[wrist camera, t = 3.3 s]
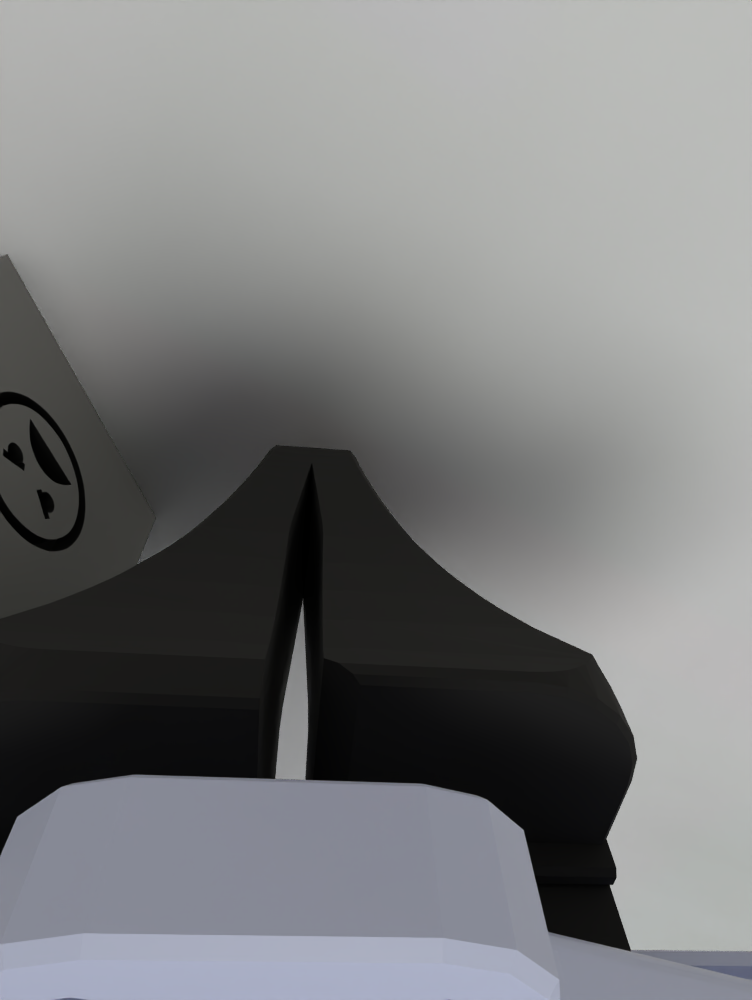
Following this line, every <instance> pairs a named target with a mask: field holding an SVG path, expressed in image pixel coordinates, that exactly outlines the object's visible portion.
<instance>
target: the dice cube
mask: <svg viewBox="0 0 752 1000" xmlns="http://www.w3.org/2000/svg"><path fill="white" fill-rule="evenodd" d="M155 519H156V517H155V516H154V514H153V512H152V510H151V508H150V507H149V505H148V503H147V501H146V500H145V498H144V496H143V494H142V492H141V491H140V489H139V487H138V485H137V484H136V482H135V480H134V478H133V477H132V475H131V473H130V471H129V469H128V468H127V466H126V464H125V462H124V461H123V459H122V457H121V455H120V453H119V452H118V450H117V448H116V446H115V445H114V443H113V441H112V439H111V437H110V436H109V434H108V432H107V430H106V429H105V427H104V425H103V423H102V422H101V420H100V418H99V416H98V414H97V413H96V411H95V409H94V407H93V406H92V404H91V402H90V400H89V398H88V397H87V395H86V393H85V391H84V390H83V388H82V386H81V384H80V382H79V381H78V379H77V377H76V375H75V374H74V372H73V370H72V368H71V367H70V365H69V363H68V361H67V359H66V358H65V356H64V354H63V352H62V351H61V349H60V347H59V345H58V343H57V342H56V340H55V338H54V336H53V335H52V333H51V331H50V329H49V327H48V326H47V324H46V322H45V320H44V319H43V317H42V315H41V313H40V312H39V310H38V308H37V306H36V304H35V303H34V301H33V299H32V297H31V296H30V294H29V292H28V290H27V288H26V287H25V285H24V283H23V281H22V280H21V278H20V276H19V274H18V272H17V271H16V269H15V267H14V265H13V264H12V262H11V260H10V258H9V256H8V255H4V256H1V257H0V619H1V618H4V617H7V616H11V615H14V614H17V613H20V612H23V611H27V610H30V609H33V608H36V607H39V606H43V605H46V604H49V603H52V602H54V601H57V600H60V599H63V598H65V597H68V596H70V595H73V594H75V593H78V592H80V591H83V590H85V589H88V588H90V587H93V586H95V585H97V584H99V583H101V582H104V581H106V580H108V579H110V578H113V577H115V576H117V575H119V574H121V573H123V572H125V571H126V570H128V569H130V568H132V567H134V566H136V565H137V563H138V560H139V558H140V556H141V553H142V551H143V548H144V546H145V543H146V541H147V539H148V536H149V534H150V531H151V529H152V526H153V524H154V521H155Z"/></svg>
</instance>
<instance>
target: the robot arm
mask: <svg viewBox="0 0 752 1000" xmlns="http://www.w3.org/2000/svg"><path fill="white" fill-rule="evenodd" d="M302 602H303V604H304V626H305V648H306V669H307V690H308V743H307V762H306V780H289V779H275V774H276V762H277V751H278V739H279V728H280V721H281V714H282V707H283V701H284V696H285V691H286V686H287V680H288V675H289V670H290V665H291V659H292V654H293V649H294V644H295V639H296V633H297V628H298V623H299V618H300V612H301V607H302ZM636 761H637V755H636V749H635V743H634V737H633V734H632V732H631V729H630V727H629V725H628V723H627V720H626V718H625V716H624V713H623V711H622V709H621V706H620V704H619V702H618V700H617V698H616V696H615V694H614V692H613V690H612V688H611V686H610V685H609V683H608V681H607V679H606V678H605V676H604V674H603V673H602V671H601V669H600V668H599V666H598V664H597V662H596V660H595V658H594V657H593V655H592V654H590V653H587V652H585V651H583V650H581V649H579V648H576V647H574V646H572V645H570V644H568V643H566V642H563V641H561V640H559V639H557V638H555V637H552V636H550V635H548V634H546V633H544V632H542V631H539V630H537V629H535V628H533V627H531V626H529V625H528V624H526V623H524V622H522V621H521V620H519V619H517V618H515V617H513V616H512V615H510V614H508V613H506V612H505V611H503V610H501V609H499V608H498V607H496V606H495V605H493V604H492V603H490V602H488V601H487V600H485V599H484V598H482V597H481V596H479V595H478V594H476V593H475V592H474V591H472V590H471V589H470V588H468V587H467V586H465V585H464V584H463V583H461V582H460V581H459V580H457V579H456V578H454V577H453V576H452V575H451V574H449V573H448V572H447V571H446V570H444V569H443V568H442V567H441V566H440V565H439V564H437V563H436V562H435V561H434V560H433V559H432V558H431V557H430V556H429V555H428V554H427V553H425V552H424V551H423V550H422V549H421V548H420V547H419V546H418V545H417V544H416V543H415V542H414V541H413V540H412V539H411V538H410V536H409V535H408V534H407V533H406V532H405V531H404V529H403V528H402V527H401V526H400V525H399V524H398V522H397V521H396V520H395V518H394V517H393V516H392V515H391V513H390V512H389V511H388V509H387V508H386V506H385V505H384V504H383V502H382V501H381V499H380V498H379V497H378V495H377V494H376V492H375V491H374V489H373V488H372V486H371V484H370V483H369V481H368V480H367V478H366V476H365V475H364V473H363V471H362V469H361V467H360V466H359V464H358V462H357V459H356V457H355V456H354V455H353V454H352V453H351V451H348V450H335V449H321V448H307V447H293V446H280V445H276V446H275V447H274V448H272V449H271V450H270V451H269V452H268V454H267V455H266V456H265V458H264V459H263V460H262V462H261V463H260V464H259V465H258V467H257V468H256V469H255V470H254V471H253V473H252V474H251V475H250V476H249V477H248V478H247V479H246V481H245V482H244V483H243V484H242V485H241V486H240V487H239V488H238V489H237V490H236V491H235V492H234V493H233V494H232V495H231V496H230V497H229V498H228V499H227V500H226V501H225V502H224V503H223V504H222V505H221V506H220V507H219V508H217V509H216V510H215V511H214V512H213V513H212V514H211V515H210V516H208V517H207V518H206V519H205V520H204V521H203V522H202V523H200V524H199V525H198V526H197V527H195V528H194V529H193V530H192V531H190V532H189V533H188V534H186V535H185V536H184V537H182V538H181V539H179V540H178V541H176V542H175V543H174V544H172V545H171V546H169V547H168V548H166V549H164V550H163V551H161V552H159V553H157V554H156V555H154V556H152V557H150V558H148V559H147V560H145V561H143V562H141V563H139V564H137V565H136V566H134V567H132V568H130V569H128V570H126V571H125V572H123V573H121V574H119V575H117V576H115V577H113V578H110V579H108V580H106V581H104V582H101V583H99V584H97V585H95V586H93V587H90V588H88V589H85V590H83V591H80V592H78V593H75V594H73V595H70V596H68V597H65V598H63V599H60V600H57V601H54V602H52V603H49V604H46V605H43V606H39V607H36V608H33V609H30V610H27V611H23V612H20V613H17V614H14V615H11V616H7V617H4V618H1V619H0V1000H752V951H673V950H631V949H630V946H629V943H628V940H627V937H626V934H625V931H624V928H623V925H622V922H621V919H620V916H619V913H618V910H617V907H616V904H615V901H614V897H613V894H612V891H611V888H610V885H613V884H614V882H615V880H616V866H615V863H614V860H613V857H612V854H611V851H610V848H609V845H608V843H607V840H606V838H607V836H608V834H609V831H610V829H611V827H612V824H613V822H614V820H615V818H616V815H617V813H618V811H619V809H620V806H621V804H622V802H623V799H624V797H625V795H626V793H627V790H628V788H629V786H630V783H631V781H632V777H633V773H634V769H635V765H636Z"/></svg>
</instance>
